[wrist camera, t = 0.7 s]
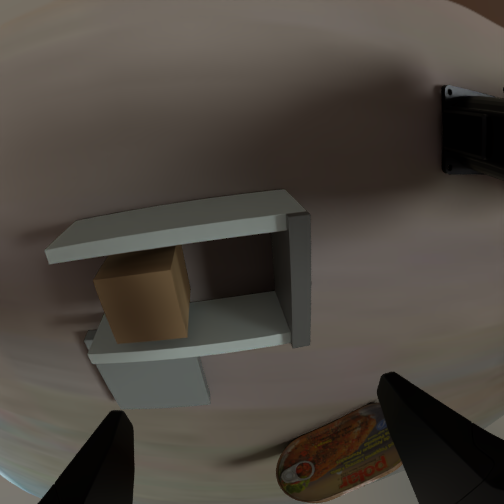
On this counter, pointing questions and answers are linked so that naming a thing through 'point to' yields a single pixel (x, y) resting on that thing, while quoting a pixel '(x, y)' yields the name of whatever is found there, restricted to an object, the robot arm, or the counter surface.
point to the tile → (155, 382)
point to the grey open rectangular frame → (218, 310)
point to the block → (145, 294)
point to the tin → (338, 457)
